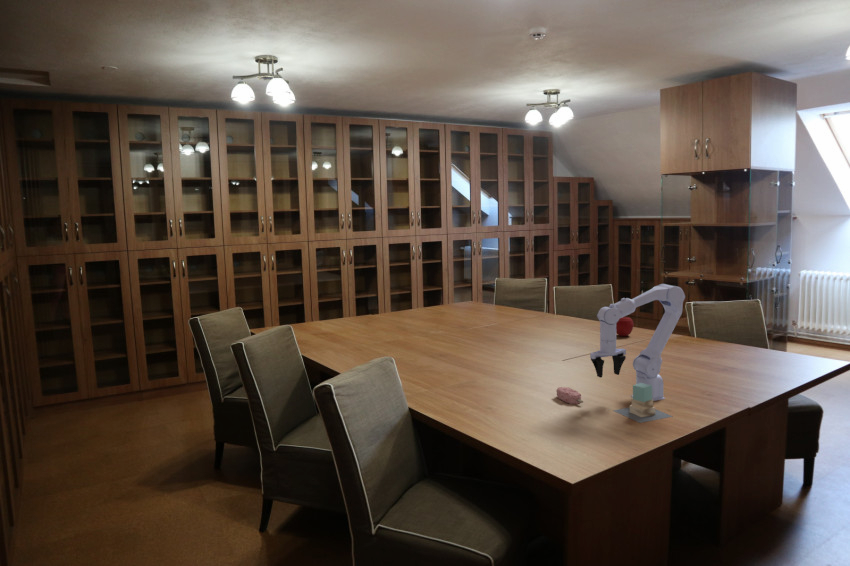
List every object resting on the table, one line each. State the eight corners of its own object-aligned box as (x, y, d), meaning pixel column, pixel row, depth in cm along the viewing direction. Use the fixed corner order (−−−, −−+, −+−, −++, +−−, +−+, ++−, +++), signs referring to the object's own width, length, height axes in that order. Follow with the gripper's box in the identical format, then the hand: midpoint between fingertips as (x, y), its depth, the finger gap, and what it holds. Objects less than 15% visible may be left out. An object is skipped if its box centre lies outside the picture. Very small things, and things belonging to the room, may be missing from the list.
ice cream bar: (574, 398, 215) (552, 386, 229) (574, 409, 215) (553, 397, 229) (589, 395, 217) (567, 384, 231) (589, 406, 217) (567, 394, 231)
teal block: (640, 396, 209) (640, 382, 208) (651, 399, 205) (652, 385, 205) (632, 399, 206) (632, 385, 206) (644, 402, 203) (644, 388, 202)
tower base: (643, 409, 210) (643, 402, 210) (655, 414, 205) (655, 407, 204) (629, 412, 208) (629, 405, 208) (641, 417, 202) (641, 410, 202)
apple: (630, 338, 326) (630, 317, 325) (611, 337, 332) (611, 316, 330) (635, 334, 335) (635, 314, 334) (616, 333, 341) (616, 313, 340)
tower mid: (641, 403, 209) (641, 396, 209) (653, 406, 205) (653, 399, 205) (631, 405, 207) (631, 399, 207) (643, 409, 203) (643, 402, 202)
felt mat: (644, 405, 215) (644, 404, 215) (673, 417, 202) (673, 416, 202) (612, 411, 210) (612, 410, 210) (640, 423, 197) (640, 422, 197)
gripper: (617, 335, 224) (617, 370, 226) (585, 339, 219) (585, 375, 221) (629, 338, 217) (629, 374, 219) (596, 343, 212) (597, 380, 214)
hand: (608, 375), depth 219 cm, fingers open, 7 cm apart
